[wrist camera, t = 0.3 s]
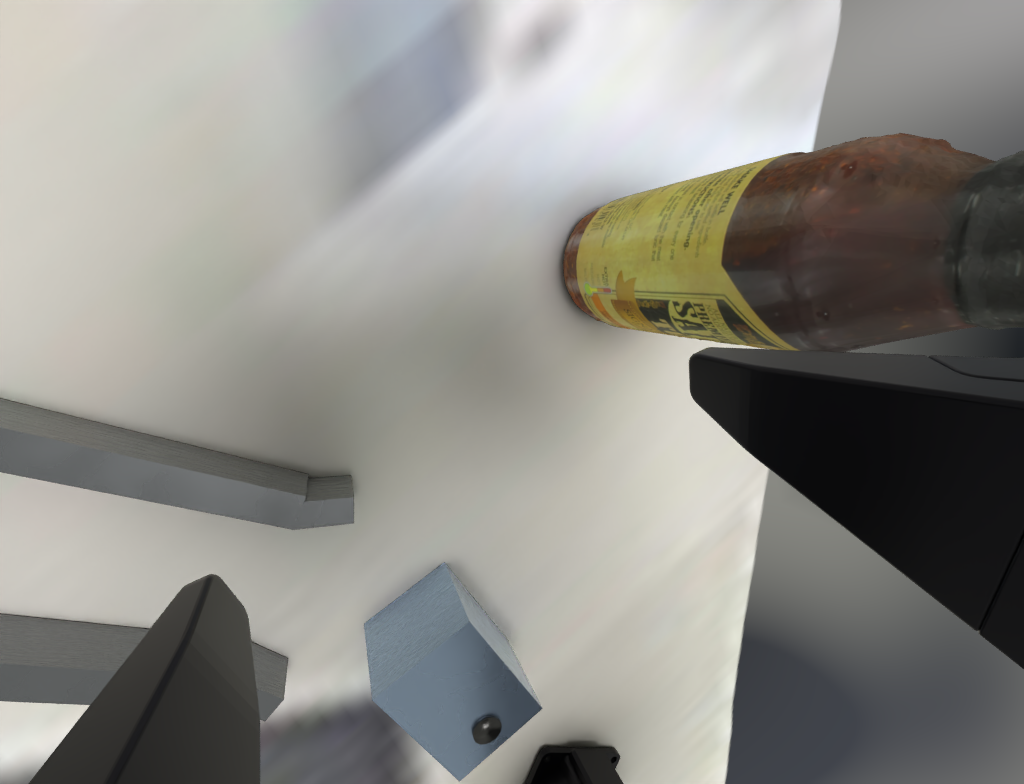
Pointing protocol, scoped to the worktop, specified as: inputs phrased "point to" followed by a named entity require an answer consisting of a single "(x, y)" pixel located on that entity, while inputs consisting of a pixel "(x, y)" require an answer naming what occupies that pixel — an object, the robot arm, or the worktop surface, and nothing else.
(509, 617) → the worktop surface
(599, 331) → the worktop surface
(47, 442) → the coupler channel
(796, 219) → the sauce bottle
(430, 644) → the block
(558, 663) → the worktop surface
